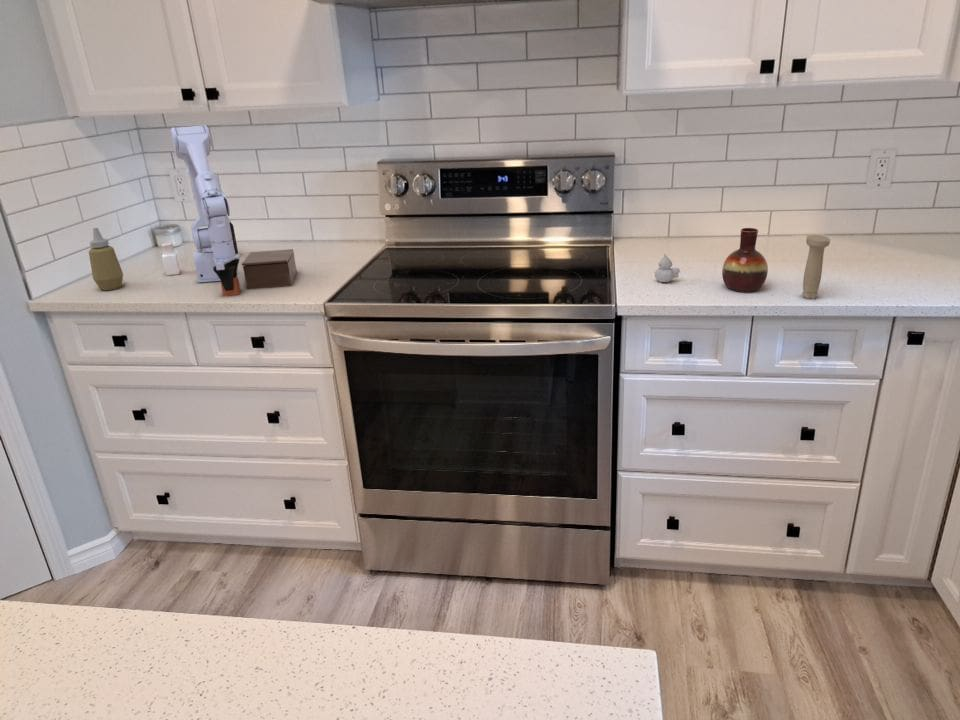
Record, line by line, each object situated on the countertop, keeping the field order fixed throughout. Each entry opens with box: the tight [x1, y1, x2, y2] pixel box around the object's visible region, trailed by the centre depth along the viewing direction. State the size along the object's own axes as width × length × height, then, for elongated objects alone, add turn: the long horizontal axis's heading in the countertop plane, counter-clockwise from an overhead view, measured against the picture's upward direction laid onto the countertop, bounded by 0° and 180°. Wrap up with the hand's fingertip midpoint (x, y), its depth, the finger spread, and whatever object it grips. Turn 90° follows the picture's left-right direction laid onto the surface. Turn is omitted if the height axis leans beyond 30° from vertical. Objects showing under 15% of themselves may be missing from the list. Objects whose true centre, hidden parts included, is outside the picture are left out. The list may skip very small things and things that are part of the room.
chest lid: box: [241, 248, 294, 267], centre depth 203 cm, size 14×13×1 cm
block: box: [220, 276, 241, 297], centre depth 195 cm, size 4×4×4 cm
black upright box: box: [229, 219, 239, 254], centre depth 232 cm, size 6×6×12 cm
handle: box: [802, 234, 831, 300], centre depth 170 cm, size 5×6×15 cm
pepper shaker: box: [160, 242, 181, 276], centre depth 216 cm, size 4×4×10 cm
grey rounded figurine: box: [654, 253, 681, 283], centre depth 188 cm, size 5×7×8 cm
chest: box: [242, 250, 298, 290], centre depth 205 cm, size 14×13×7 cm
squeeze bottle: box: [88, 227, 124, 291], centre depth 202 cm, size 8×8×18 cm
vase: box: [721, 227, 769, 293], centre depth 179 cm, size 11×11×15 cm
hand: (230, 287), depth 196 cm, fingers closed on block, 4 cm apart
